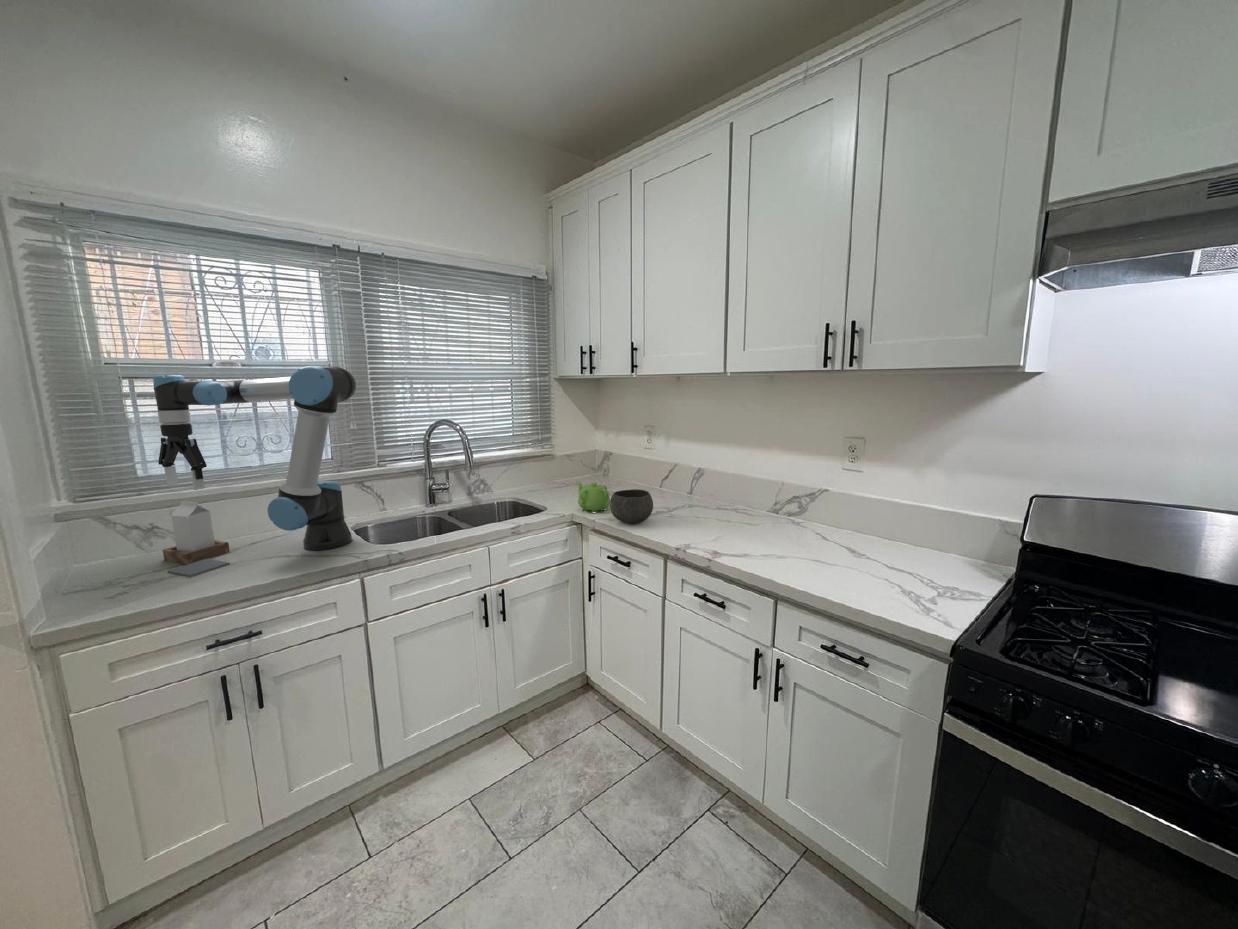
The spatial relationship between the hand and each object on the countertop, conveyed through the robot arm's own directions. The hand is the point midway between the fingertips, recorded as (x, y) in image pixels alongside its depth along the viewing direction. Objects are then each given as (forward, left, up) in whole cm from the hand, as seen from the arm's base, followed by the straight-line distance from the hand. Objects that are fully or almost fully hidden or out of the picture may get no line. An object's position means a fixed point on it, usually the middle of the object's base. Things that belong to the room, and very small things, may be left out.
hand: (185, 487), depth 161 cm
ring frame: (0, 0, -24) cm, 24 cm away
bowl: (-127, -85, -24) cm, 155 cm away
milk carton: (0, 0, -24) cm, 24 cm away
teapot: (-104, -98, -24) cm, 145 cm away
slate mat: (-13, +7, -24) cm, 28 cm away
